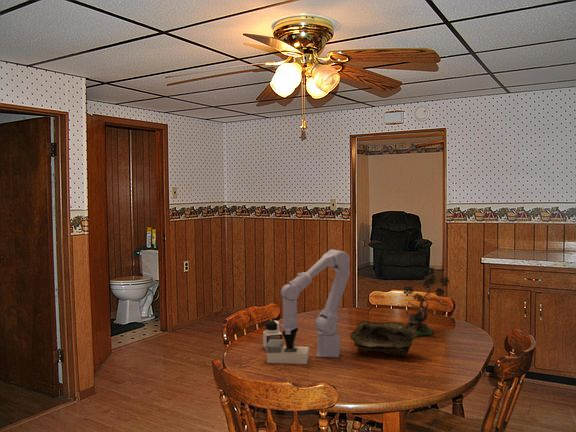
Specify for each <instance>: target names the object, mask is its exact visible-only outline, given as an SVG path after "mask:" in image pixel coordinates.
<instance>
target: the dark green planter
mask: <svg viewBox="0 0 576 432" xmlns="http://www.w3.org/2000/svg"><path fill="white" fill-rule="evenodd" d="M350 339H351V340H352V341H353V343H354V346H355V347H356V348H357V349H358V350H360V351H361V353H362V354H366V353H367V352H372V351H374V352H383V353H385V354H386V355H395V356H399V357H407V355H408V354H409V352H410V351H409V350H410V349H411V347H412V346H413V344H412V343H413V341H414V340H416V339H419V336H418V335H417V329H415V328H413V327H410V326H406V324H404V323H403V322H401V323H400V322H395V321H392V322H390V321H389V322H377V321H376V322H375V321H374V322H370V321H368V320H363V321H361V322H359V323H358V324H357V326H356V329H355V330H354V331H352V332H351V333H350Z"/></svg>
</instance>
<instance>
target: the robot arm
mask: <svg viewBox="0 0 576 432" xmlns="http://www.w3.org/2000/svg"><path fill="white" fill-rule="evenodd" d="M350 261H351V258H350V256H349V255H348V252H346V251H344V250H338V249H335V248H331V249H329V250H328V251H327V252H326V253H323V255H322V256H321V258H320V259H319V260H317V261H316V262H315V263H314V264H313V265H312V266H311V267H310V268H309V269H308V270H307V271H305V272H304V271H302V272H298V273H297V276H296V277H294V278H293V279H292V280H289V282H288V283H287V284H285V285H283V286H282V287H281V291H280V292H279V293H280V295H281V297H282V324H279V328H283V329H284V330H283V331H282V332H281V333H282V337H283V339H284V342H285V344H286V345H285V346H287V349H293V343H294V338H295V339H296V336H297V333H298V332H299V331H298V330H299V325H298V301H297V300H298V298H299V296H300V293H301V292H303V291H304V290H305V289H307V287H308V286H309V285H310V284H312V281H313V278H314V277H316V276H317V275H318V274H319V273H321V272H323V270H324V269H326V268H328V267H329V268H330V267H331V268H333V270H334V271H335V277H334V279H333V281H332V285H331V288H330V291H329V294H328V297H327V299H326V303H325V305H324V308H323V309H322V310H321V311H320V313H319V314H318V316H317V317H316V318H315V321H314V326H315V328H316V329H317V352H316V355H315V356H316V357H317V358H318V357H319V358H340V354H341V337H340V336H341V335H340V333H336V332H337V331H338V320H339V317H338V310H339V307H340V304H341V301H342V298H343V295H344V292H345V290H346V286H347V284H348V280H349V279H350V278H349V277H350V275H351V269H350V267H351V266H350Z"/></svg>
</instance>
